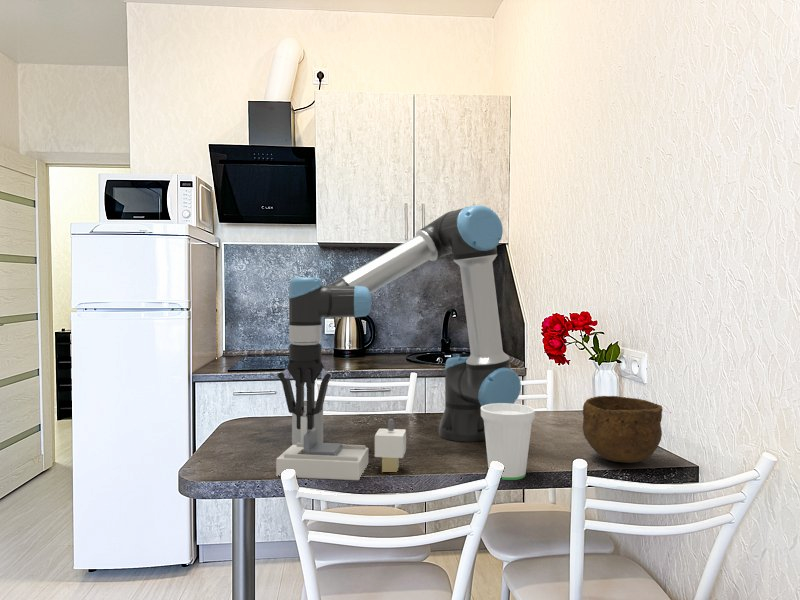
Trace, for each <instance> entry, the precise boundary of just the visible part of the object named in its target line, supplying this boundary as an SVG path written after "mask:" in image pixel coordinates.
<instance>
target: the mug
mask: <svg viewBox="0 0 800 600" xmlns="http://www.w3.org/2000/svg"><path fill="white" fill-rule="evenodd" d="M316 402H317V400H315V406H316ZM295 403H296V401H295ZM304 411H305V412H304V413H303V415H304V414H307V400H304ZM313 428H318V429H317V442H318V443H324V406H323V407H322V411H321V412H319V413H318V414H315V415H314V427H313ZM297 443H301V429H297V416H296V415H295V414H293V413H291V444H292V445H297Z"/></svg>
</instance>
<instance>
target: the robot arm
mask: <svg viewBox="0 0 800 600" xmlns="http://www.w3.org/2000/svg"><path fill="white" fill-rule="evenodd" d="M503 231H504V230H503V224H502V221H501V219H500V217H499V215H498V214H497V213H496V212H495V211H493V209H491V208H490V207H487V206H485V205H470V206H469V205H468V206H465V207H462V208H459V209H455V210H451V211H448V212H446V213H444V214H443V215H441V216H439V217H437V218H436V219H435V220H433V221H432V222H430V223H428V224H427V225H425V226H423V227H422V228H420V229H419V230H417V231H416V233H415V236H413V237H412V238H410V239H408V240H407V241H405V242H403V243H401V244H399V245H398V246H396V247H394V248H393V249H390V250H388V251H387V252H385V253H384V254H382V255H380V256H378V257H376V258H374V259H373V260H371V261H369V262H367V263H366V264H364V265H361V266H360V267H358V268H356V269H355V270H353V271H352V272H350V273H348V274H345V275H344V276H342V277H341V278H339V279H337V280H335V281H334V282H332V283H330V284H327V285H323V283H322V279H321V278H320V277H304V276H302V277H299V276H298V277H293V278H292V279H290V280H289V289H288V290H289V293H288V304H289V305H288V312H289V315H288V317H289V318H288V319H289V325H288V326H289V327H288V329H289V330H288V332H289V333H288V336H289V338H288V341H289V342H290V345H288V353H289V354H288V364H287V366H286V367H287V368H286V369H284V370H283V371H282V370H281V371H280V372H279V373H277V377H278V379H279V380H280V382H281V384H282V388H283V392H284V396H285V401H286V405H287V409H288V412H289V414H292V413H293V414H295V415H296V416H297V429H301V444H304V435H305V434H306V433H307V432H309V431H310V430H312V429H313V427H314V415H315V414H318V413H319V412H321V411H322V407H323V408H324V402H325V399H326V396H327V395H326V394H327V390H328V386H329V382H330V381H331V379H332V378H333V376H334V374H333V372H331V371H328V370H326V369H325V368H324V364H323V363H322V355H323V354H322V349H323V348H322V344H321V343H320V342H322V331H323V330H322V321H323V319H322V318H356V319H357V318H358V317H359V318H362V317H367V316H368V315H369V314H370V312H371V309H372V293H374V292H376V291H378V290H380V289H381V288H383V287H384V286H386V285H389V283H392V282H394V281H395V280H397V279H399V278H400V277H402V276H404V275H406V274H407V273H409V272H411V271H412V270H414V269H416V268H417V267H419V266H420V265H422V264H424V263H426V262H428V261H431V262H435V261H437V260H438V259H440V258H442V257H446V256H447V255H452V260H453V262H454V263H455V264H456V265H458V267H459V270H460V278H461V286H462V294H463V304H464V311H465V318H466V326H467V334H468V342H469V350H470V355H469V356H458V357H457V356H456V357H448V358H447V359H446V361H445V367H444V374H445V375H444V379H445V380H444V381H445V382H444V386H445V389H444V398H445V399H444V400H445V401H444V403H445V404H444V411H443V414H442V417H441V420H440V422H439V426H438V435H439V437H441V438H443V439H444V440H445V439H446V440H449V441H455V442H468V443H473V442H481V441H486V439H485V428H484V420H483V418H482V417H481V406H484V405H487V404H496V403H509V404H515V402H516V401H517V400H518V398H519V396H520V394H521V388H522V387H521V386H522V384H521V382H522V381H521V379H520V377H519V375H518V373H517V372H515V371H514V370H513V369H512V368H511V360H510V356H509V354H507V353H505V352H504V350H503V349H504V348H503V342H502V332H501V325H500V315H499V309H498V300H497V292H496V283H495V274H494V266H493V265H494V264H493V262H494V261H495V260H496V257H497V256H498V249H497V246H498V245H499V244H500V241H501V240H502V238H503V233H504V232H503ZM320 375H321V376H320ZM291 376H292V378H293V380H294V383H295V395H294V392H293V386H292V383H291V380H290V377H291ZM319 376H320V379H321V382H320V385H319V390H318V393H317V399H316V400H315V395H316V394H315V392H316V391H315V390H316V389H315V386H316V380H317V379H318V378H319ZM305 387H306V401H307V414H304V415H303V413H304V412H305V411H304V401H305ZM315 401H317V402H316V406H315ZM295 402H296V403H295Z"/></svg>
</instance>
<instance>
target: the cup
mask: <svg viewBox="0 0 800 600" xmlns="http://www.w3.org/2000/svg"><path fill="white" fill-rule="evenodd" d="M481 417H482V418H483V420H484V428H485V439H486V440H485V446H486V459H487V466H488V468H489V466H490V463H491V462H492V461H498V462H500V463H502V464H503V465H504V467H505V469H504V472H503V474H502V479H501V481H502V480H504V481H517V480H522V479H524V478H525V477H526V474H527V472H526V471H527V465H528V455H529V449H530V448H529V447H530V441H531V439H530V438H531V433H532V424H533V421H534V420H535V418H536V409H535V408H534V407H531V406H529V405H524V404H519V403H514V404H509V403H496V404H487V405H484V406H481Z"/></svg>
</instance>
